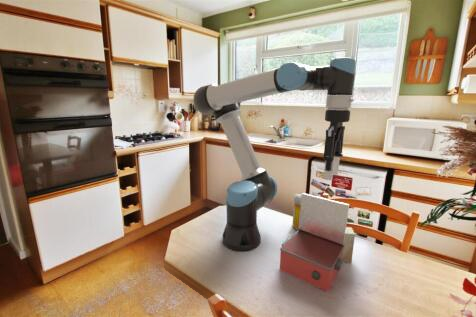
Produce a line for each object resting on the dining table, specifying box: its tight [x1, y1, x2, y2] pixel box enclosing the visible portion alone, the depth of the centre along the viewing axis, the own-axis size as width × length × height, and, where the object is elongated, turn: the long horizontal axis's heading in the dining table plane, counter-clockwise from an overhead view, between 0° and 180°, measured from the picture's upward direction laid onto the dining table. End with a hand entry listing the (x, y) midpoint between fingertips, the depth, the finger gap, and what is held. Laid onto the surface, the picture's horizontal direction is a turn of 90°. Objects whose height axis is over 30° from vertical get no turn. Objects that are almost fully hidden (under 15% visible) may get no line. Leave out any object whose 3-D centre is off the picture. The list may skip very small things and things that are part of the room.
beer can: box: [292, 192, 304, 230], centre depth 107 cm, size 6×6×15 cm
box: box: [342, 226, 356, 264], centre depth 87 cm, size 5×4×11 cm
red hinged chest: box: [279, 229, 344, 293], centre depth 82 cm, size 19×15×8 cm
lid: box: [297, 192, 350, 245], centre depth 85 cm, size 16×14×2 cm
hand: (330, 176), depth 86 cm, fingers open, 6 cm apart
